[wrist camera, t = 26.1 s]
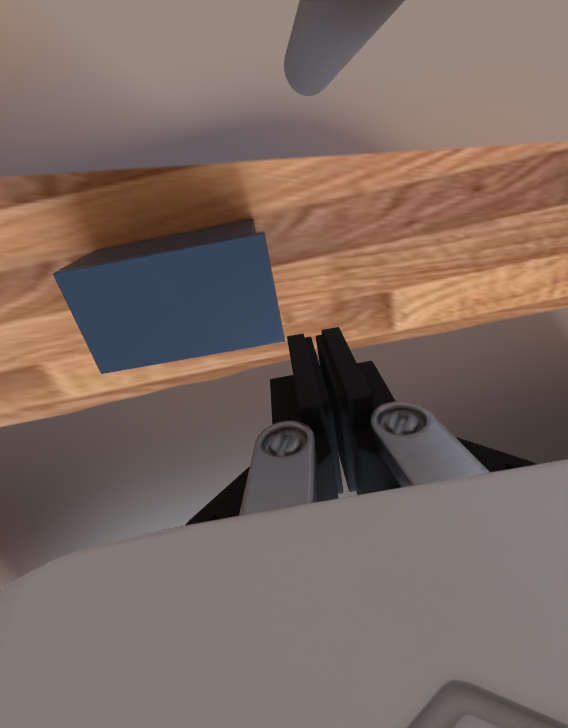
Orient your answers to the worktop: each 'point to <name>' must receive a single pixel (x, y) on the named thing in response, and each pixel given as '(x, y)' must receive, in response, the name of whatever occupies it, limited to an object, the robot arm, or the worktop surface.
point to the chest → (166, 243)
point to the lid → (175, 303)
